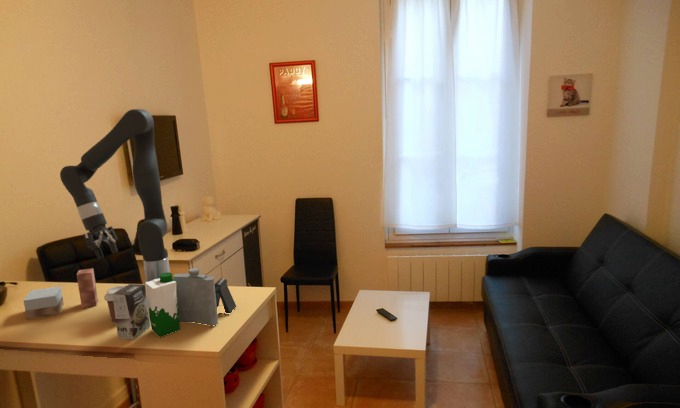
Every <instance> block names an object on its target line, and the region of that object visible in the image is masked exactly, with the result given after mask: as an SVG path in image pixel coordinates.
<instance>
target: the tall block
mask: <svg viewBox="0 0 680 408" xmlns="http://www.w3.org/2000/svg"><path fill="white" fill-rule="evenodd" d="M76 280H77V286H78V291H79V292H78V293H79V297H80V305H81V308H82V309H87V308H92V307H97V305H98V303H99V297H98V292H97V284H96V283H97V282H96V278H95V271H94V268H93V267H91V268H85V269H79V270H78V271H77V273H76Z"/></svg>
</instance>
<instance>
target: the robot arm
mask: <svg viewBox="0 0 680 408" xmlns="http://www.w3.org/2000/svg"><path fill="white" fill-rule="evenodd" d="M131 139H133V143H134V152H133V158H132V160H133V161H132V176H133V184H134V188H135V191H136V193H137V195H138V197H139V199H140V201H141V203H142V207H143V214H144V220H143V222H141V223H140V225H138V228H137V239H138V245H139V252H140V254H141V255H142V261H143V269H144V276H145V282H149V281H152V280H154V279H159V278H160V275H161V274H163V273H171V270H170V269H171V268H170V262H169V252H168V249H167V248H166V247H165V243H164V237H165V235H166V234H167V232H168V224H167V218H166V215H165V211H164V207H163V206H164V205H163V197H162V188H161V178H160V171H159V170H160V169H159V164H158V159H157V152H156V146H155V145H156V144H155V121H154V118H153V115H152V114H151V113H150V112H149V111H147V110H146V109H140V108H134V109H130V110H129V109H128V110H127V111H126V112H124V115H123V116H122V117H121V118H120V119H119V120H118V121H117V123H116V124H115V125H114V126H113V128H112V129H110V131H109V132H108V133H107V134H106V135H105V136H104V137H102V139H100V140H98V142H96V143H95V144H94V145H93V146H91V148H89V149H88V150H87V151H86V152H85V153H83V155H82V156H81V157H80V162H79V163H78V164H77V165H66V166H64V167H63V168H62V169H60V173H59V177H60V181H61V182H62V185H63V186H64V188H65V190H67V192H68V193H69V194H70V195H71V197H72V198H73V201H74V203H75V205H76V208H77V213H78V215H79V218H80V220H81V222H82V225H83V227H84V229H85V231H88V232H85V233H83V235H82V237H83V239H84V242H85V244H86V247H87V249H88V250H92V251H93V252H94V254H95V256H96V258H97V259H98V260H100V259H103V258H104V257H105V255H104V253H103V251H102V248H101V244H102V242H105V243H106V244H108V246H109V249H110V251H111V252H110V253H111V254H116V253H119V250H118V248H117V244H116V241H118V240H119V238H118V236H117V235H116V232H115V230H114V228H113V226H112V225H110V226H108V227H107V226H106V225H108V224H107V223H108V221H107V220H106V217H105V215H104V212H103V209H102V208H101V206H100V204H99V202H98V200H97V197H96V195H95V193H94V191H93V189H92V188H90V187H87V186H86V184H85V183H87V182H88V181H90V180H91V178H92V177H93V176H94V175H95V174H96V172H97V171H98V169H99V168H101V167H102V166H103V165H104V164H106V163H107V162H108V161H109V160H110V159H111V158H112V157H113V156H114V155H115V153H116V152H117V151H118V150H119V149H120V147H122V146H123V145H124V144H125V143H126V142H128V141H129V140H131Z"/></svg>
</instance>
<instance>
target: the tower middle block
mask: <svg viewBox="0 0 680 408" xmlns="http://www.w3.org/2000/svg"><path fill="white" fill-rule="evenodd" d="M61 297H63V292H62V286H61V285H60V286H53V287H46V288H40V289H33V290H32V289H31V290H30V291H29V292H28V294H27V295H26V297H25V298H24V299H23V306H24V312H25V311H27V310H33V309H39V308H46V307H52V306H57V305H58V303H59V301H60V299H61Z"/></svg>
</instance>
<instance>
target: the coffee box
mask: <svg viewBox="0 0 680 408" xmlns="http://www.w3.org/2000/svg"><path fill="white" fill-rule="evenodd" d="M124 286H125V287H124V288H122V289H120V290H118V291H117V292H115V293H113V302H114V310H115V318H116V324H115V326H116V331H117V332H116V333H117V338H118V339H125V340H133V341H134V340H135V339H137V338H138V337H139V336H141V335H142V334H143V333H145V330H146V329H147V330H149V329H150V328H149V327H151V323H150V318H149V310H148V302H147V294H146V286H145V284H142V283H141V284H140V283H139V284H138V283H129V284H126V285H124ZM147 330H146V331H147Z"/></svg>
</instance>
